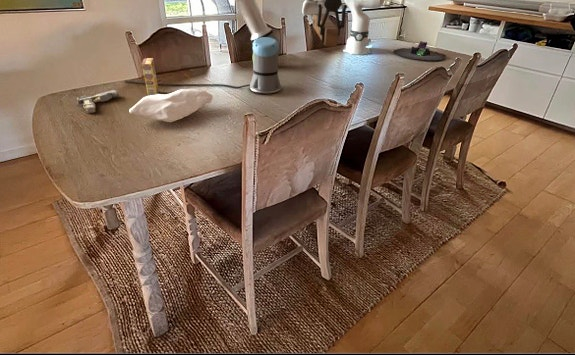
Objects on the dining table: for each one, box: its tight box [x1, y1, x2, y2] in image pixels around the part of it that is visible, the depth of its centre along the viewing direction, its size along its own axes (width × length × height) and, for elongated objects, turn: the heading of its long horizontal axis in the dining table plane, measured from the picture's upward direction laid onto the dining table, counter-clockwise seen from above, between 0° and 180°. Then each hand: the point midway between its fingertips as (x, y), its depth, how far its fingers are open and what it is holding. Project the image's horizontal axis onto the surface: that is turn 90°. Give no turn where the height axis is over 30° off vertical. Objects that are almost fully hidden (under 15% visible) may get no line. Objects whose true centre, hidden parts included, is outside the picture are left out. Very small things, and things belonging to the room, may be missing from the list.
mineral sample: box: [392, 40, 447, 61], centre depth 247 cm, size 35×35×9 cm
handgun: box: [76, 89, 120, 114], centre depth 155 cm, size 3×18×15 cm
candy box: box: [141, 57, 160, 96], centre depth 163 cm, size 9×4×15 cm, turn 13°
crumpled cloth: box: [129, 88, 214, 123], centre depth 147 cm, size 24×35×9 cm
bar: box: [312, 14, 339, 48], centre depth 192 cm, size 51×6×8 cm, turn 3°
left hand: (329, 42), depth 178 cm, fingers closed on bar, 6 cm apart
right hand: (319, 23), depth 209 cm, fingers closed on bar, 5 cm apart
